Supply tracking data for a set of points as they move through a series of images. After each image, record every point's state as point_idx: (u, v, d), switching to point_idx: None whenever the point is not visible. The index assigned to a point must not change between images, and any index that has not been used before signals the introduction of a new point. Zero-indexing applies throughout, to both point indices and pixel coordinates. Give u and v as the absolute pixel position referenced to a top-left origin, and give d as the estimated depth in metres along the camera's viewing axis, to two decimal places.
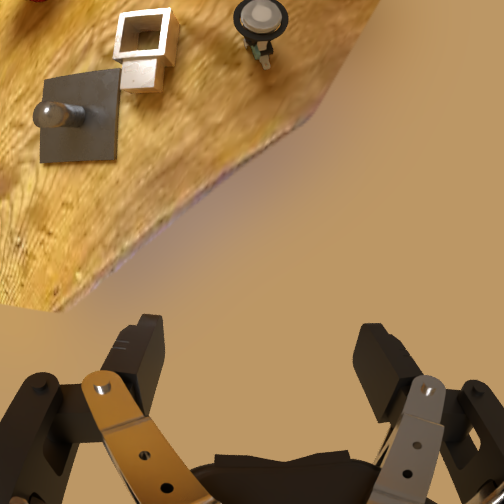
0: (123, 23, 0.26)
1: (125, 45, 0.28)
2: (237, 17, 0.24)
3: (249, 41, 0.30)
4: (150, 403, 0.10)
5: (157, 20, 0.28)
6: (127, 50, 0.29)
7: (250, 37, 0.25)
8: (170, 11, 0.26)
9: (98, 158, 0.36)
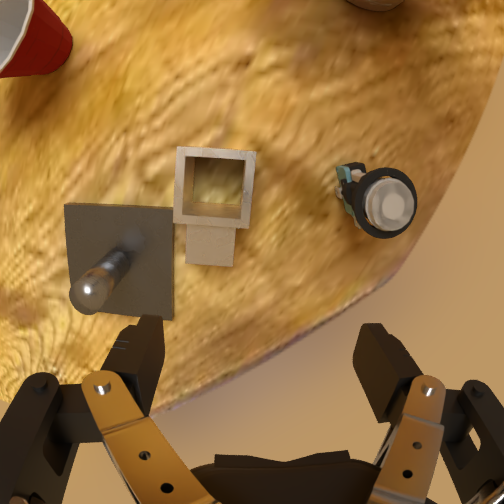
0: (184, 166, 0.23)
1: (186, 194, 0.26)
2: (360, 202, 0.22)
3: (351, 203, 0.27)
4: (150, 403, 0.10)
5: None
6: (187, 197, 0.27)
7: (372, 234, 0.22)
8: None
9: None
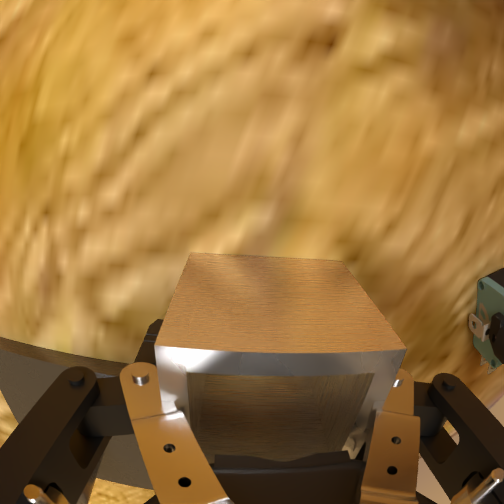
0: (186, 392, 0.07)
1: (197, 410, 0.10)
2: None
3: None
4: None
5: None
6: (200, 400, 0.10)
7: None
8: None
9: None
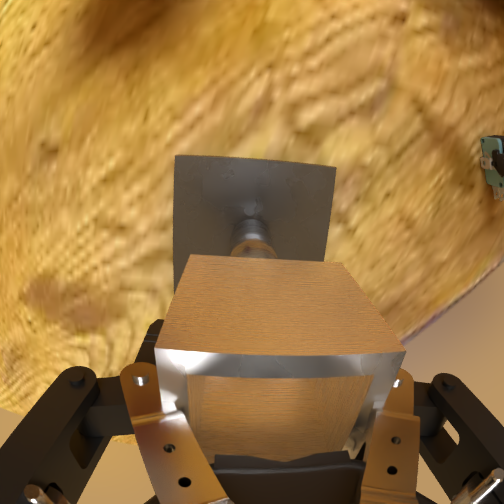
0: (186, 394, 0.07)
1: (197, 411, 0.10)
2: None
3: None
4: None
5: None
6: (200, 401, 0.10)
7: None
8: None
9: None
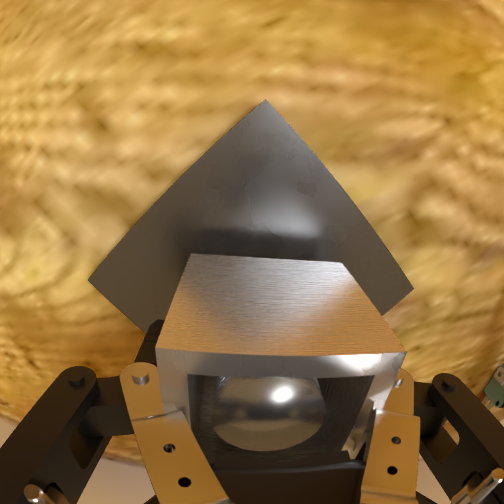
0: (186, 393, 0.07)
1: (197, 411, 0.10)
2: None
3: None
4: None
5: None
6: (199, 401, 0.10)
7: None
8: None
9: None
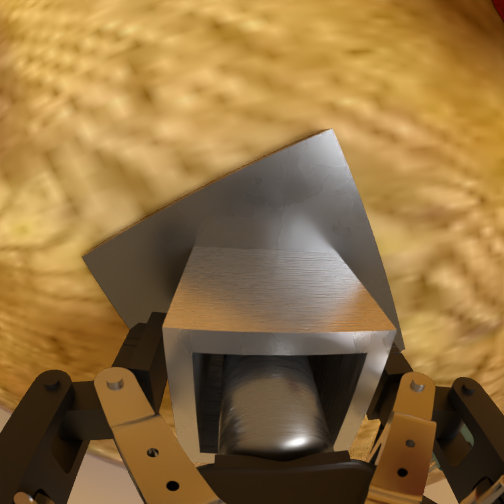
0: (191, 372, 0.08)
1: (201, 394, 0.10)
2: None
3: None
4: (160, 400, 0.10)
5: None
6: (204, 386, 0.11)
7: None
8: None
9: None
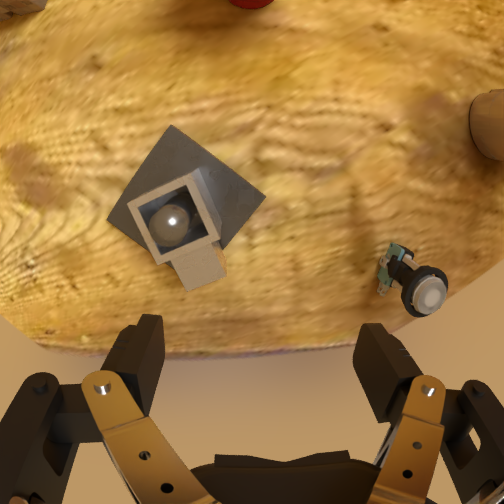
0: (140, 215, 0.26)
1: None
2: (414, 283, 0.27)
3: (392, 276, 0.33)
4: (150, 403, 0.10)
5: None
6: None
7: (407, 307, 0.28)
8: (192, 176, 0.25)
9: None
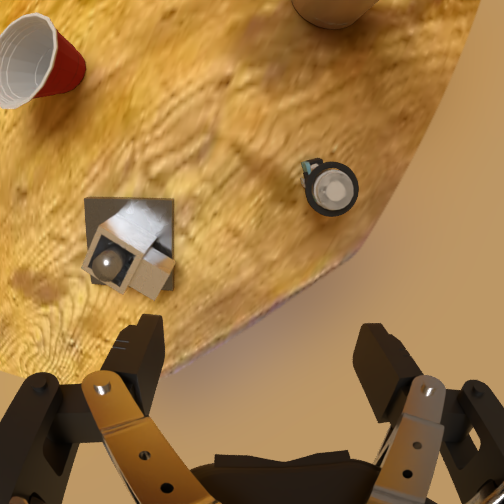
0: None
1: None
2: (310, 189, 0.29)
3: None
4: (150, 403, 0.10)
5: (104, 237, 0.34)
6: (120, 274, 0.36)
7: (321, 213, 0.30)
8: (102, 226, 0.32)
9: None
